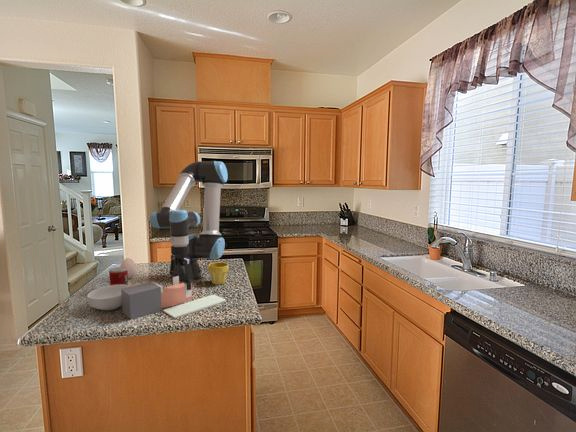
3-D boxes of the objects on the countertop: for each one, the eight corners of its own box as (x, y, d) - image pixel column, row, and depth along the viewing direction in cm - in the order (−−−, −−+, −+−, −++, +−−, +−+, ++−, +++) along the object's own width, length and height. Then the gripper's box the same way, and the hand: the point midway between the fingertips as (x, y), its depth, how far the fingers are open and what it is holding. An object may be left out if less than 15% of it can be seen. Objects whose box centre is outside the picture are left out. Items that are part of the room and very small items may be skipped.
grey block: (154, 303, 135) (152, 281, 134) (163, 309, 128) (162, 286, 127) (122, 312, 126) (120, 288, 125) (131, 319, 119) (129, 294, 118)
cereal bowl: (104, 299, 141) (103, 283, 140) (140, 299, 140) (139, 284, 140) (78, 315, 124) (77, 298, 123) (119, 315, 124) (118, 298, 123)
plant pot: (232, 280, 166) (232, 262, 164) (222, 286, 156) (221, 268, 155) (215, 278, 169) (215, 261, 168) (204, 284, 159) (204, 266, 158)
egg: (140, 276, 173) (138, 256, 172) (129, 281, 165) (128, 260, 164) (128, 275, 175) (126, 256, 173) (117, 280, 167) (115, 259, 166)
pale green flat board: (213, 295, 144) (213, 294, 144) (226, 301, 137) (226, 299, 137) (163, 311, 127) (163, 309, 127) (174, 318, 120) (174, 317, 120)
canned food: (121, 294, 147) (119, 271, 145) (106, 293, 148) (105, 270, 147) (132, 288, 154) (131, 267, 153) (118, 287, 156) (117, 266, 154)
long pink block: (186, 296, 144) (186, 282, 143) (192, 299, 140) (191, 284, 139) (142, 309, 129) (141, 293, 128) (147, 313, 126) (146, 296, 125)
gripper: (160, 242, 142) (162, 289, 144) (184, 250, 126) (187, 302, 128) (175, 240, 147) (177, 285, 150) (201, 247, 131) (203, 297, 134)
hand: (182, 293), depth 139 cm, fingers open, 10 cm apart
